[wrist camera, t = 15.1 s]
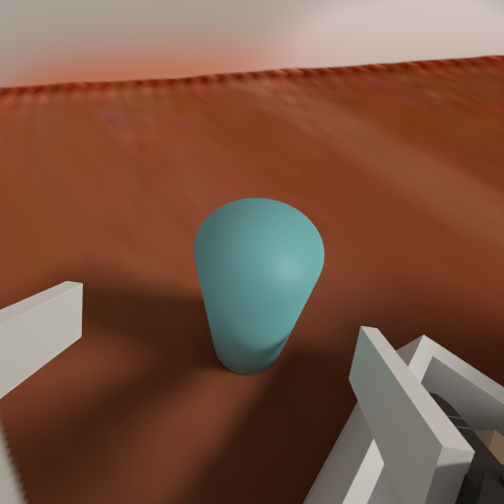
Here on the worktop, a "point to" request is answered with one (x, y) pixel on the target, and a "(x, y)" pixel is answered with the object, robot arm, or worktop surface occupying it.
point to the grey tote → (363, 444)
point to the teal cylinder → (255, 278)
